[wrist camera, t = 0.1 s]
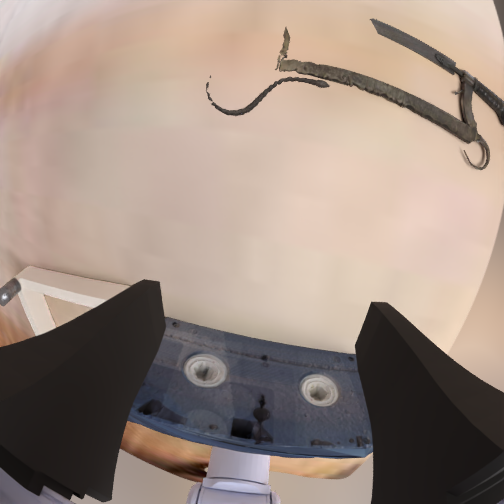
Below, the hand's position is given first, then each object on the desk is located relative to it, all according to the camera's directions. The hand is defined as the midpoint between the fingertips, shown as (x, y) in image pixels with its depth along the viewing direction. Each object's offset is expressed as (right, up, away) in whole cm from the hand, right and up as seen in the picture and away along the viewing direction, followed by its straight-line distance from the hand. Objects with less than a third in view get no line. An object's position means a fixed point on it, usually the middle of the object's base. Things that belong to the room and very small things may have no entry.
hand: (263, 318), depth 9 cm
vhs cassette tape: (+1, -6, +15) cm, 16 cm away
